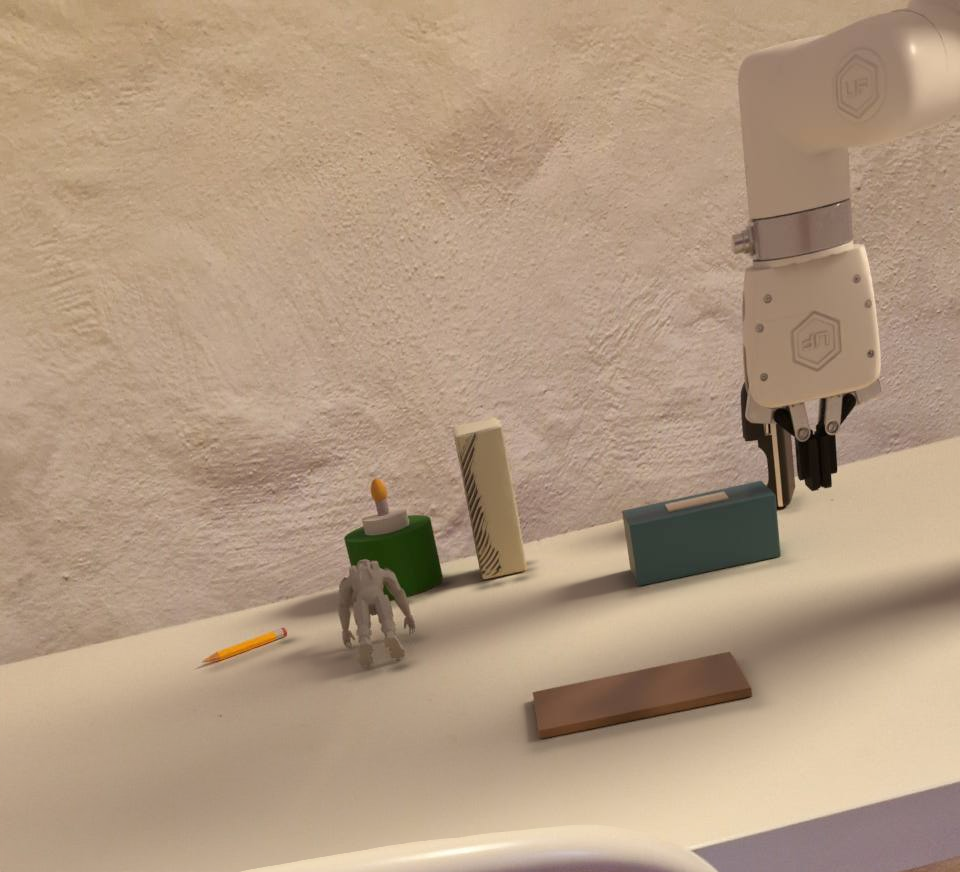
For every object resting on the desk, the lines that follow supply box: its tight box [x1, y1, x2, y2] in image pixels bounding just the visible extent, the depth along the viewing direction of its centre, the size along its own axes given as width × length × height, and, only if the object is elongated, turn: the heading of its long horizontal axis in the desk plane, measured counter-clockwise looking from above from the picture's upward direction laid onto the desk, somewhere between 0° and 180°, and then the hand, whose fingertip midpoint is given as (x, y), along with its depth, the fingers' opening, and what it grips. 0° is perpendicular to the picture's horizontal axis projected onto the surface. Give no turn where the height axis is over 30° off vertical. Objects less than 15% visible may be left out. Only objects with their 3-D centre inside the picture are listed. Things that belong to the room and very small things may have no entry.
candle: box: [343, 477, 444, 601], centre depth 131 cm, size 8×8×10 cm
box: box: [452, 416, 528, 580], centre depth 127 cm, size 5×4×13 cm
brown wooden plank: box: [532, 651, 753, 740], centre depth 94 cm, size 14×8×1 cm, turn 91°
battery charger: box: [740, 381, 796, 508], centre depth 129 cm, size 7×4×11 cm, turn 165°
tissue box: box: [621, 480, 782, 587], centre depth 118 cm, size 12×6×5 cm, turn 91°
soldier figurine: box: [337, 559, 417, 668], centre depth 117 cm, size 6×5×12 cm
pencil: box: [200, 627, 288, 664], centre depth 125 cm, size 1×9×1 cm, turn 122°
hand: (818, 485), depth 116 cm, fingers closed
